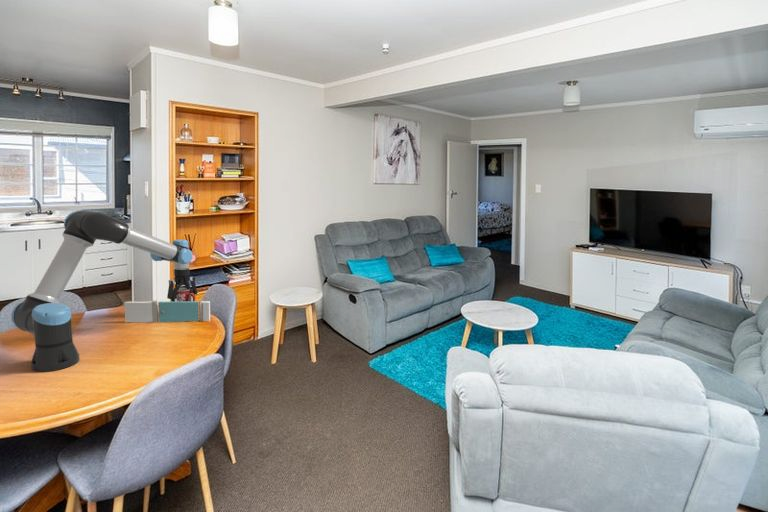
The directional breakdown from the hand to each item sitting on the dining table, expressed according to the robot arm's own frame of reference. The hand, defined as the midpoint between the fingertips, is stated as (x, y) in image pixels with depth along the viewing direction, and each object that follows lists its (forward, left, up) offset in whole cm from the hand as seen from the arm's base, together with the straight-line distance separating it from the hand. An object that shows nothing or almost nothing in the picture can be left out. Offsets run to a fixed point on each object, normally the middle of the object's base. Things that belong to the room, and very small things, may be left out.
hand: (183, 309), depth 233 cm
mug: (0, 0, -3) cm, 3 cm away
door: (-10, -1, -4) cm, 11 cm away
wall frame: (-9, +5, -4) cm, 11 cm away
